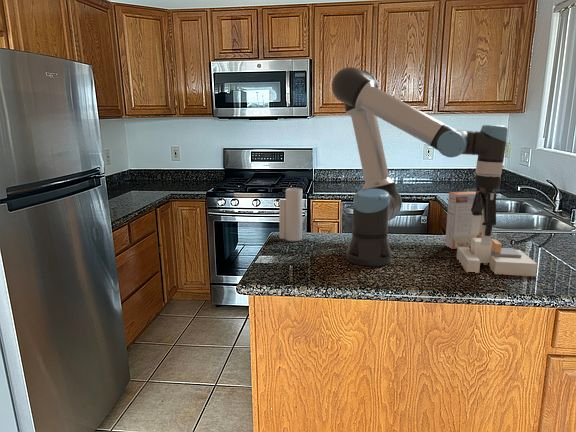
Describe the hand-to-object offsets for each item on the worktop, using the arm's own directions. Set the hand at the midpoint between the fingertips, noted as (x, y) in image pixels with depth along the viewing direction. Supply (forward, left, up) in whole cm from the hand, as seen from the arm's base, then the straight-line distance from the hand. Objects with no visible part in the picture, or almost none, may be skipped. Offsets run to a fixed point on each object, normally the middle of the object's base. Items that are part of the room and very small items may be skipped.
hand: (479, 239), depth 142 cm
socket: (+5, -2, -8) cm, 10 cm away
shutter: (+8, 0, -4) cm, 9 cm away
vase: (-66, +21, -9) cm, 70 cm away
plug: (+1, 0, -8) cm, 8 cm away
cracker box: (+1, +20, -9) cm, 22 cm away
